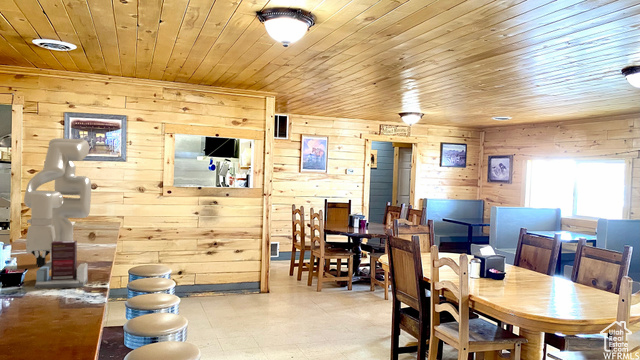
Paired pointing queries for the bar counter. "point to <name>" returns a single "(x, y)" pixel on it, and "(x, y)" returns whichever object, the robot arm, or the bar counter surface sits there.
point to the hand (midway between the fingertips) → (40, 266)
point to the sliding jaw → (43, 273)
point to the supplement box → (64, 260)
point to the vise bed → (79, 281)
